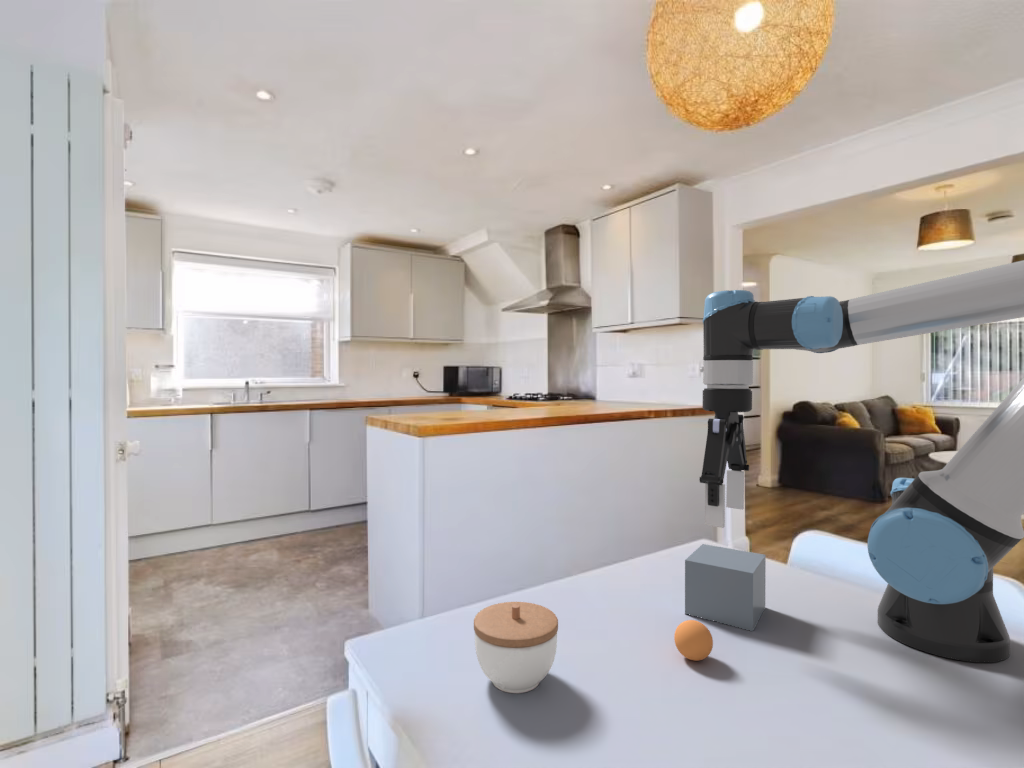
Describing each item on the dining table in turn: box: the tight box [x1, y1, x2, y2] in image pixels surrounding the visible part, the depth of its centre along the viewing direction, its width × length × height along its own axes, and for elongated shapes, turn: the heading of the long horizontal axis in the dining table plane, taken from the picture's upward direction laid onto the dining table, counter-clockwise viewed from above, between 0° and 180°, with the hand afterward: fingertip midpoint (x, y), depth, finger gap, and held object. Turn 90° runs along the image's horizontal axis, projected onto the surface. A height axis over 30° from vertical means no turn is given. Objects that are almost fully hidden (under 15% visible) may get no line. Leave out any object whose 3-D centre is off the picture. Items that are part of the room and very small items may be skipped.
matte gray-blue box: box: [684, 543, 767, 632], centre depth 87 cm, size 10×10×9 cm
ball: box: [673, 619, 714, 662], centre depth 72 cm, size 5×5×5 cm
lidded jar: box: [473, 601, 559, 694], centre depth 67 cm, size 11×11×9 cm
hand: (725, 516), depth 87 cm, fingers open, 13 cm apart
